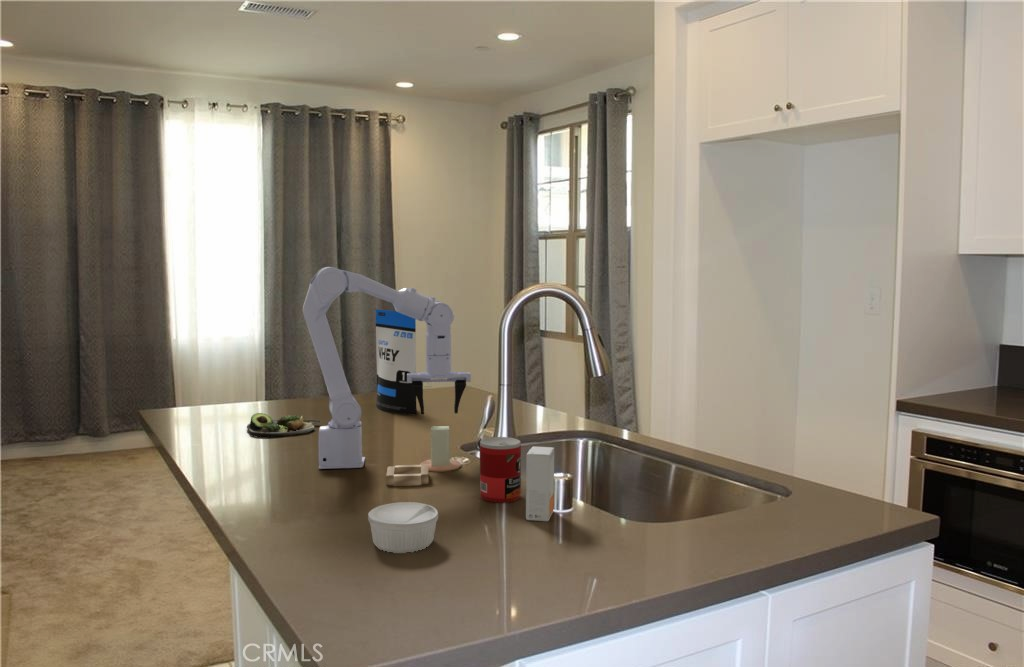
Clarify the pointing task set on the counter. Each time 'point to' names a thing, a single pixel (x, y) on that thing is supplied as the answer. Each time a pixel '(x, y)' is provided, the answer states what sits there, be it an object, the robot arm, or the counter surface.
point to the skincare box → (539, 483)
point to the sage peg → (440, 446)
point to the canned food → (500, 469)
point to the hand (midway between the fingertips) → (439, 413)
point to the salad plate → (278, 425)
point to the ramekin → (403, 526)
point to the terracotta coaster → (453, 466)
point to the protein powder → (395, 362)
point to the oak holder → (407, 475)
